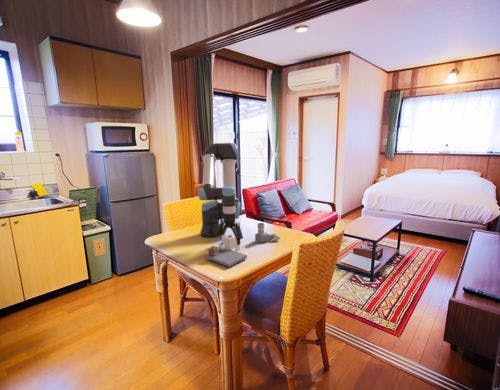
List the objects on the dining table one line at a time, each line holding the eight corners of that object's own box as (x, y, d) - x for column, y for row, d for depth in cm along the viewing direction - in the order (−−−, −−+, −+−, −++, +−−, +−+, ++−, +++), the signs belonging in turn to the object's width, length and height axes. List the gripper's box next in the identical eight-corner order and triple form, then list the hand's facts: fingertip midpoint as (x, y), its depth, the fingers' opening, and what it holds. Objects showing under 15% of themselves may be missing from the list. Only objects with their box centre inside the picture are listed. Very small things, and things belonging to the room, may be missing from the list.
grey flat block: (205, 259, 151) (205, 255, 151) (223, 251, 162) (223, 247, 161) (229, 268, 140) (229, 264, 140) (247, 259, 151) (246, 255, 150)
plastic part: (224, 248, 168) (224, 235, 166) (230, 245, 171) (230, 233, 170) (230, 250, 164) (230, 237, 163) (236, 247, 168) (236, 235, 167)
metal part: (217, 251, 156) (217, 244, 156) (222, 249, 159) (221, 242, 158) (222, 252, 154) (221, 246, 153) (226, 250, 157) (226, 244, 156)
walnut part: (208, 255, 151) (208, 248, 150) (212, 252, 154) (212, 246, 153) (215, 256, 149) (214, 249, 148) (218, 253, 153) (218, 247, 152)
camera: (253, 222, 178) (275, 220, 182) (254, 239, 180) (275, 237, 185) (258, 226, 170) (280, 224, 174) (258, 244, 172) (280, 241, 176)
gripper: (211, 211, 168) (212, 245, 172) (239, 216, 153) (241, 254, 157) (219, 208, 174) (221, 241, 178) (248, 214, 159) (249, 249, 163)
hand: (230, 247), depth 168 cm, fingers open, 11 cm apart
